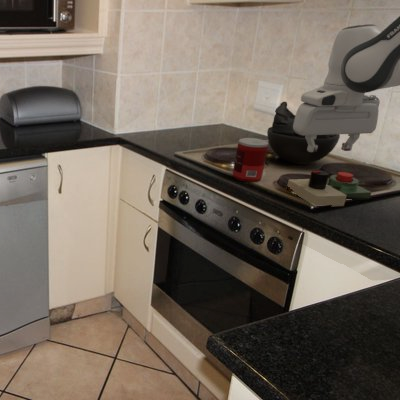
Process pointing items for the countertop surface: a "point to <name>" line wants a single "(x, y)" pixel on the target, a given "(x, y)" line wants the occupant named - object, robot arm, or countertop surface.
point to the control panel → (317, 193)
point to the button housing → (349, 188)
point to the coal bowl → (296, 139)
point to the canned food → (250, 159)
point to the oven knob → (318, 179)
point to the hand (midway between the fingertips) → (328, 151)
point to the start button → (344, 176)
